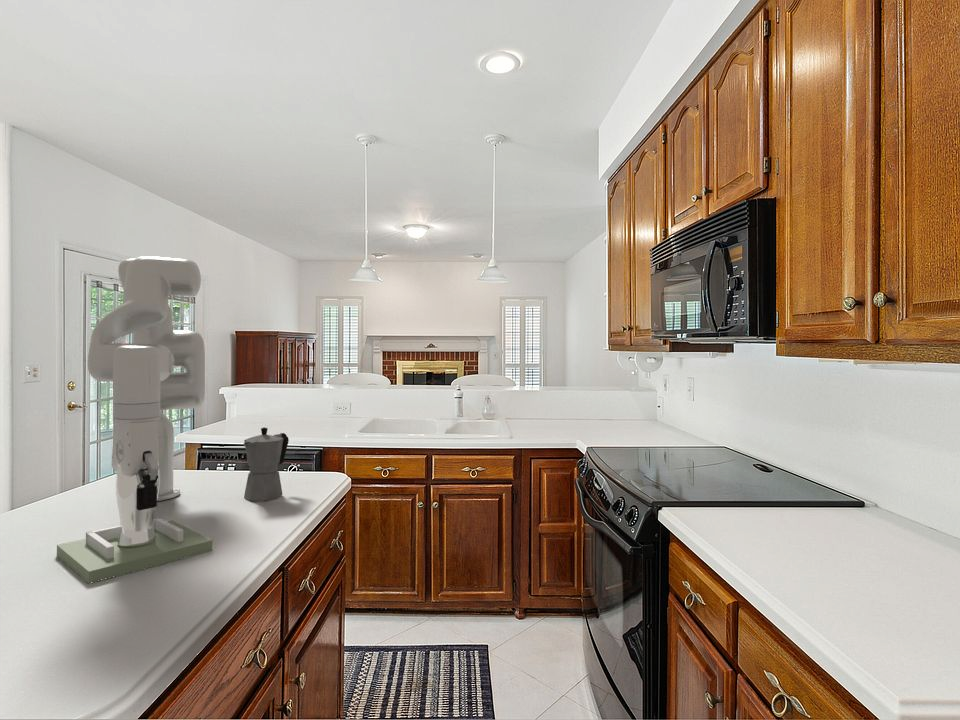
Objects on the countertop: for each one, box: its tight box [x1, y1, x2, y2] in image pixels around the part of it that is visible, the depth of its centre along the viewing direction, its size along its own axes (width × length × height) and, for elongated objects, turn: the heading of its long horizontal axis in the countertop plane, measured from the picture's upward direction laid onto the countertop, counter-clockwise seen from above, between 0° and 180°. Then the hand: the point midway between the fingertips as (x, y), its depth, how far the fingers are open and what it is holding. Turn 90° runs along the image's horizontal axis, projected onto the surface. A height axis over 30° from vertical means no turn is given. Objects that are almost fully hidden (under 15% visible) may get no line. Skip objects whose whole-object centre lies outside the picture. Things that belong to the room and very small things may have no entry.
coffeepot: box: [243, 427, 290, 503], centre depth 145 cm, size 15×9×18 cm, turn 159°
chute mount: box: [56, 516, 213, 584], centre depth 104 cm, size 18×20×4 cm
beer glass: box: [115, 461, 159, 547], centre depth 104 cm, size 7×7×15 cm
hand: (136, 503), depth 104 cm, fingers open, 9 cm apart
